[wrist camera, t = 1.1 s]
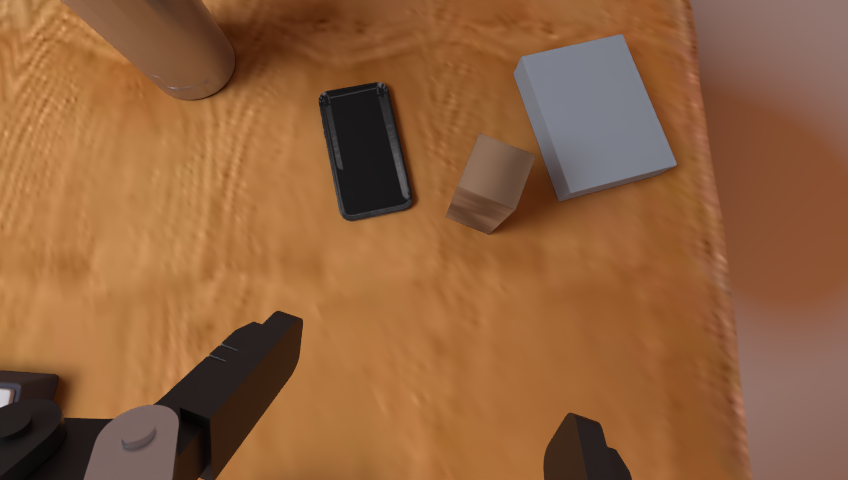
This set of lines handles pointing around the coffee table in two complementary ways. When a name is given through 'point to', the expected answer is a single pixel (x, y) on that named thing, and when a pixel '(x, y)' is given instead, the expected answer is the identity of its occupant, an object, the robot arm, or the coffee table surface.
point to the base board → (592, 117)
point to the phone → (365, 151)
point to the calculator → (26, 386)
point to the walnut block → (490, 184)
